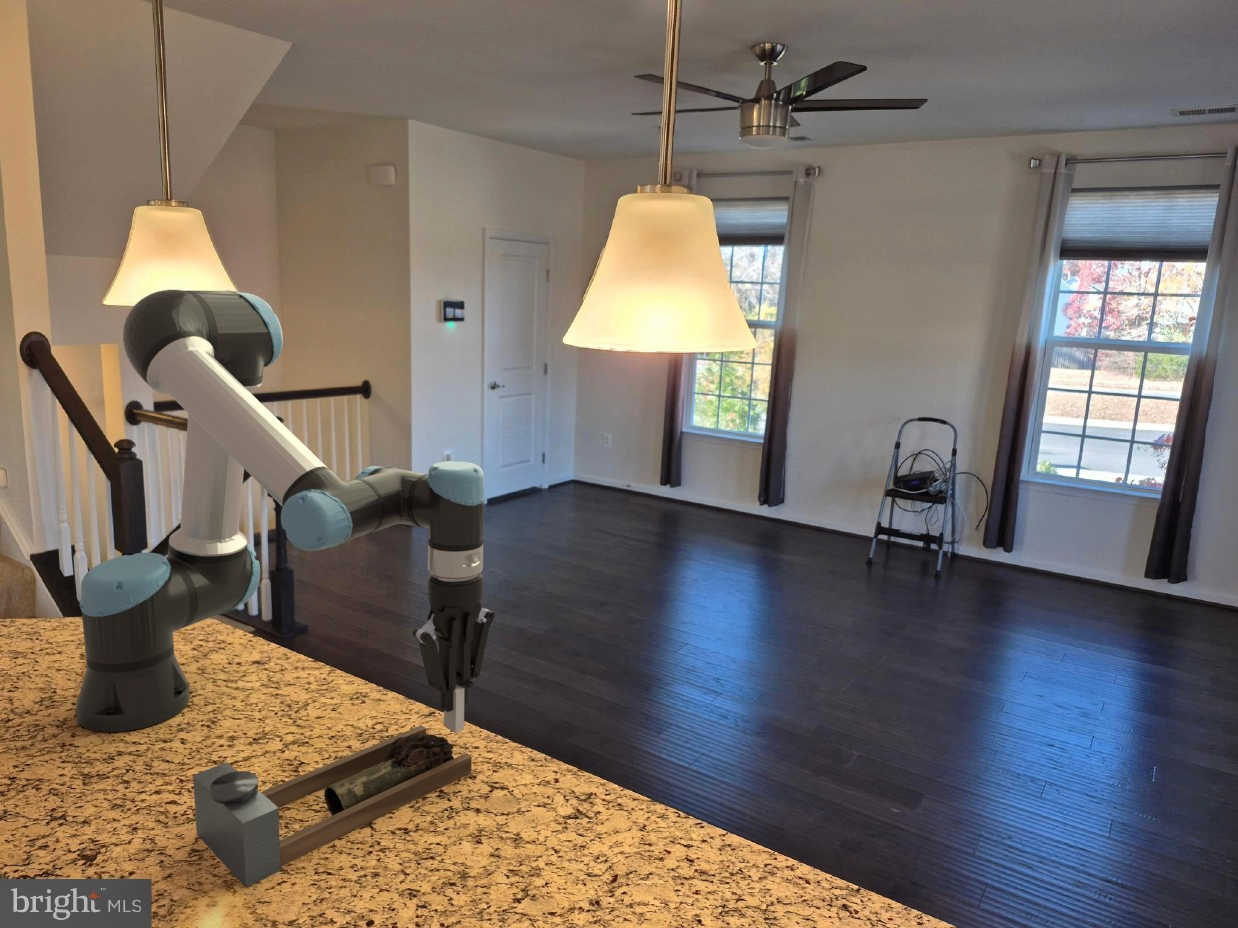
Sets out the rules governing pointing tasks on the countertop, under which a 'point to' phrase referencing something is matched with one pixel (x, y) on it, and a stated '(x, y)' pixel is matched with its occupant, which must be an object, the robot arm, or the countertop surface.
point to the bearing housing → (237, 822)
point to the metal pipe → (390, 770)
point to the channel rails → (365, 810)
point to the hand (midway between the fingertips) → (453, 727)
